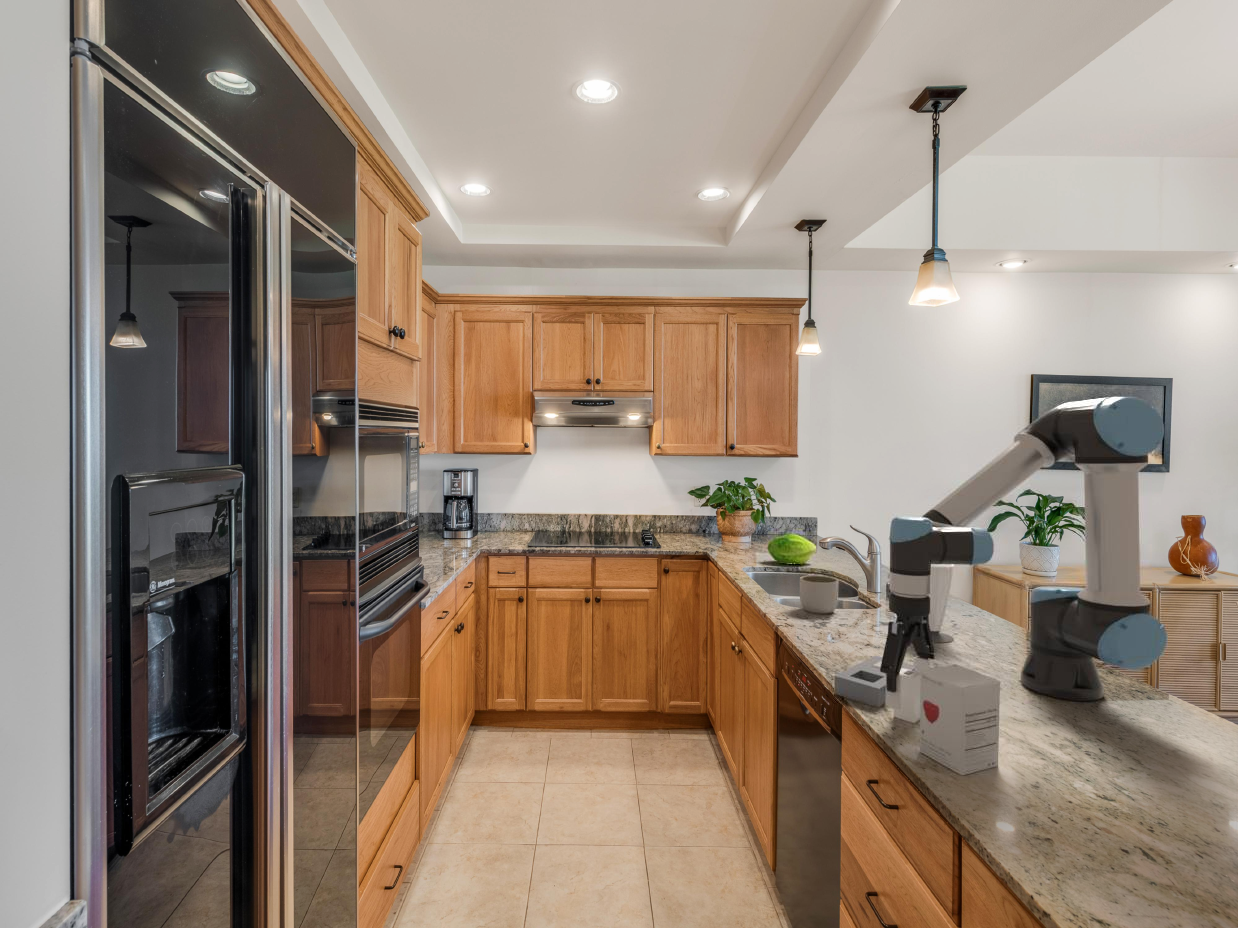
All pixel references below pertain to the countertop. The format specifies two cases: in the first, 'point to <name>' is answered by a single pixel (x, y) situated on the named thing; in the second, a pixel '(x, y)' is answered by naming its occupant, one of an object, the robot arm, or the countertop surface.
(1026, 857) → the countertop surface
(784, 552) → the green oval fruit
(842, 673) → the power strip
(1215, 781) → the countertop surface
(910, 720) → the block
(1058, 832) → the countertop surface
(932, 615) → the cup
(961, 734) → the supplement box
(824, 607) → the planter
